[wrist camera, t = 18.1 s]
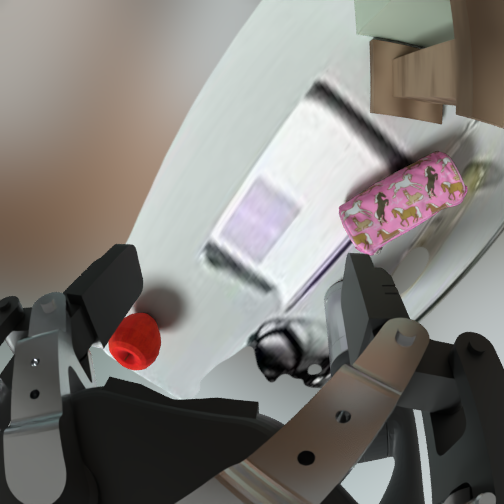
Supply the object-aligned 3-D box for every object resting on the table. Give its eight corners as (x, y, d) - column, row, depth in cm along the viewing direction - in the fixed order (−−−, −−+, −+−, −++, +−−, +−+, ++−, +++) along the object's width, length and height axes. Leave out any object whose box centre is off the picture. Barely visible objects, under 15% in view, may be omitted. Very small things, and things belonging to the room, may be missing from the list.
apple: (172, 343, 69) (153, 385, 57) (129, 332, 69) (106, 370, 58) (169, 307, 63) (146, 350, 51) (123, 295, 64) (95, 334, 52)
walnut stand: (446, 58, 33) (592, 48, 5) (446, 125, 38) (593, 179, 10) (357, 39, 35) (455, -43, 7) (357, 111, 40) (470, 134, 12)
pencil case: (357, 245, 51) (367, 271, 43) (330, 203, 48) (338, 223, 40) (453, 186, 43) (478, 203, 35) (433, 140, 40) (459, 149, 32)
